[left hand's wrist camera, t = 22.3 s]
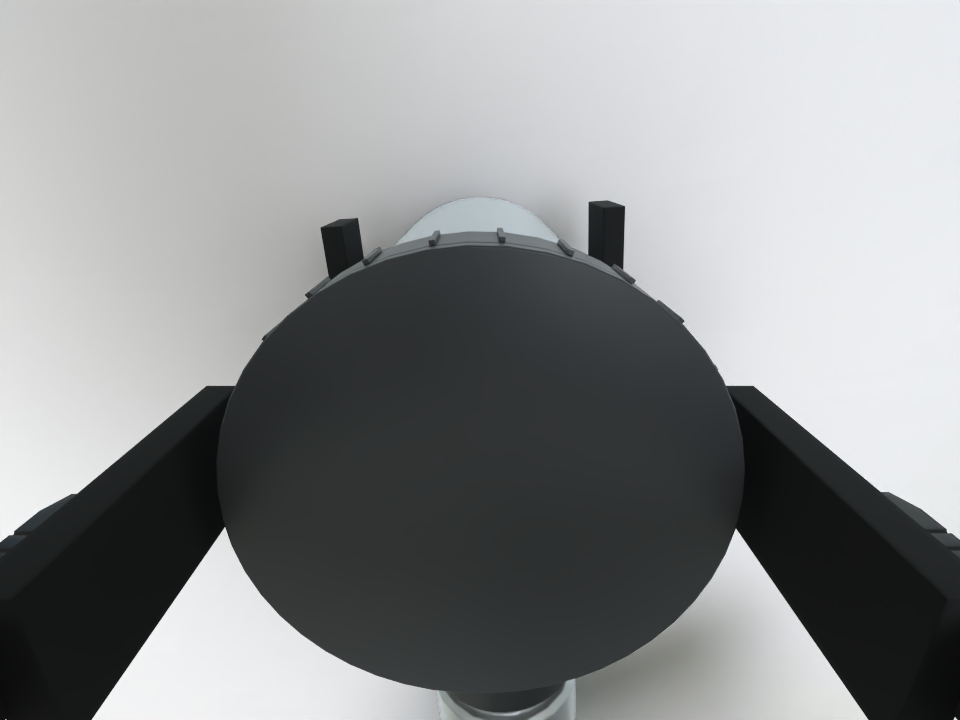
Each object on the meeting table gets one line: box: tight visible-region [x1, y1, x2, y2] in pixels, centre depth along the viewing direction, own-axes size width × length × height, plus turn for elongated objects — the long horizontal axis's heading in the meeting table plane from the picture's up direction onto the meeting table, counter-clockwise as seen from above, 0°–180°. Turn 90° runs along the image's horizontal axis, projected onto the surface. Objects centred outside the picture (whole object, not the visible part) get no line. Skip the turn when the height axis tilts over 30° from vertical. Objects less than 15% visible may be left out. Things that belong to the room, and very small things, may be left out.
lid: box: [216, 228, 745, 693], centre depth 11 cm, size 10×10×2 cm
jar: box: [393, 197, 559, 247], centre depth 19 cm, size 9×9×17 cm
